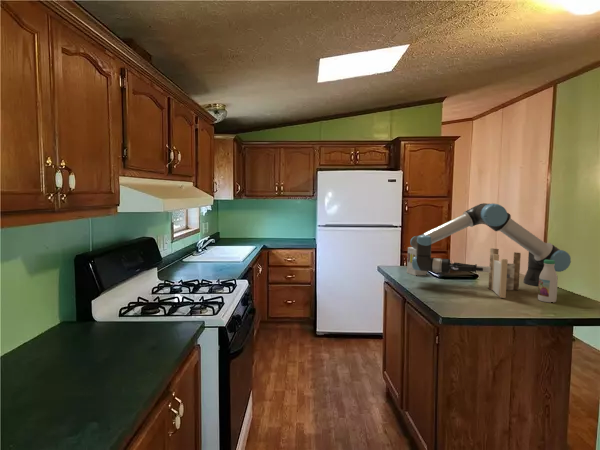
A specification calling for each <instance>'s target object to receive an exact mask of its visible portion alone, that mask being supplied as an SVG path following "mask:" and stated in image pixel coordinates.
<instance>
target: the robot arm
mask: <svg viewBox="0 0 600 450" xmlns="http://www.w3.org/2000/svg"><path fill="white" fill-rule="evenodd" d="M477 225H486V226H487V227H489V228H490V229H492V230H493V231H494V232H501V233H502V234H503V235H505V236H507V237H508V238H509V239H510V240H511V241H513V242H515V243H516V244H517V245H518V246H520V247H522V248H523V249H525V250H526V251H527V252H528V257H527V258H528V259H527V261H528V262H527V271H526V273H525V275H524V277H523V283H524V284H526V285H529V286H535V287H539V276H540V273H541V271H542V270H543V268H544V260H554V261H555V265H554V268H555V271H556V273H558V272H559V273H561V272H565V271H566V270H567V269H568V268H569V267H570V265H571V262H572V261H571V255H570V253H568V252H567V251H566V250H563V249H559V248H558V247H557V246H555V245H554V244H553V243H551V242H545V241H543V240H542V239H540V238H539V237H538V236H537V235H535V234H533V233H532V232H530V231H529V229H528V230H527V229H526V228H525V227H523V226H522V225H521V224H520V223H518V222H517V221H515V220H514V219H513V218H512V215H511V214H510V213H509V212H508V211H507V209H506V208H505V207H504V206H502V205H501V204H498V203H484V202H483V203H479V204H476V205H475V206H473V207H471V208H469V209H467V210H465V211H464V212H463V213H462V214H461V215H459V216H457V217H455V218H453V219H451V220H448V221H447V222H445V223H443V224H440V225H439V226H436V227H434V228H432V229H429V230H427V231H425V232H424V233H421V234H420V235H415V236H413V237H412V238H411V239H410V241H409V242H410V247H413V248H414V249H416V250H417V256H416V257H413V260H412V267H413V269H414V270H420V271H427V272H429V273H430V272H432V273H435V274H438V273H442V274H450V271H451V270H452V271H453V272H471V273H475V274H477V272H478V273H479V272H480V273H490V269H491V267H490V266H485V265H484V266H483V265H478V264H476V263H475V264H470V263H468V264H467V263H462V262H461V263H460V262H453V263H452V262H451V259H449V258H440V257H432V245H433V244H435V243H437V242H439V241H441V240H443V239H446V238H448V237H450V236H452V235H454V234H455V233H457V232H460V231H462V230H464V229H466V228H468V227H471V228H473V227H475V226H477Z"/></svg>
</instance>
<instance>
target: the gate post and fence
mask: <svg viewBox="0 0 600 450" xmlns="http://www.w3.org/2000/svg"><path fill="white" fill-rule="evenodd" d="M489 250H490V251H489V267H491V269H490V273H489V272H488V273H489V274H488V290H491V291H493V290H492V289H491V288H492V269H493V254H498V255H499V252H500V251H499V248H490V249H489ZM520 271H521V252H513V263H507V274H510V278H507V281H506V291H507V290H508V291H519V290H520V287H519V286H520V276H521V275H520V274H521V272H520Z"/></svg>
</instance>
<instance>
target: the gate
mask: <svg viewBox="0 0 600 450" xmlns="http://www.w3.org/2000/svg"><path fill="white" fill-rule="evenodd" d="M508 261H509V260H508V258H501V259H500V254H499V253H498V254H493V269H492V288H491V289H492V290H491V291H493V292H494V293H495V294H496V295H497V296H498V297H499V298H502V299H505V298H506V297H507V295H506V293H507V290H506V281H507V278H510V274H507V264H509V263H508Z"/></svg>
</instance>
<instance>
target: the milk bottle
mask: <svg viewBox="0 0 600 450" xmlns="http://www.w3.org/2000/svg"><path fill="white" fill-rule="evenodd" d="M554 265H555V261H554V260H544V268H543V270H542V271H541V273H540V276H539V286H537V288H538V289H537V300H539V301H540V302H544V303H551V302H553V303H556V302H557V296H558V281H559V280H558V275H557V274H558V273H557V271H555V268H554Z"/></svg>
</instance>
